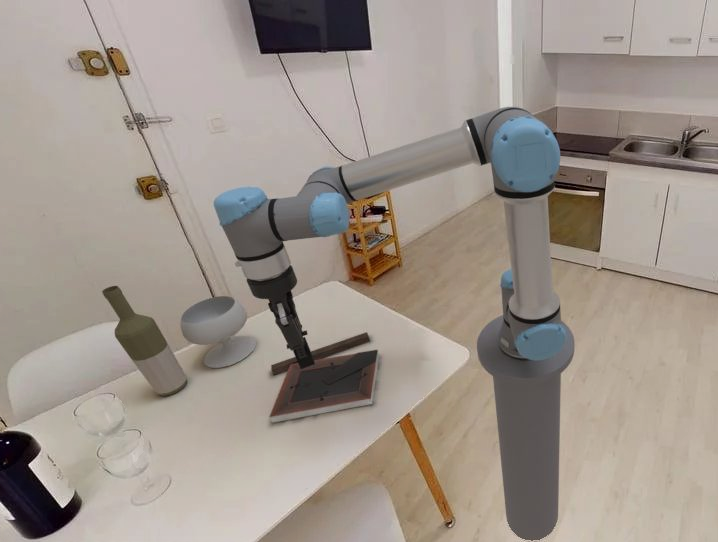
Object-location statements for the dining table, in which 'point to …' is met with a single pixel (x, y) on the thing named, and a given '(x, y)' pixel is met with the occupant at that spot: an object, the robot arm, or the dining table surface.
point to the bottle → (146, 346)
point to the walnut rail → (323, 352)
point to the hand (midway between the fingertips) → (307, 364)
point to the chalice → (218, 330)
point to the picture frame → (327, 386)
